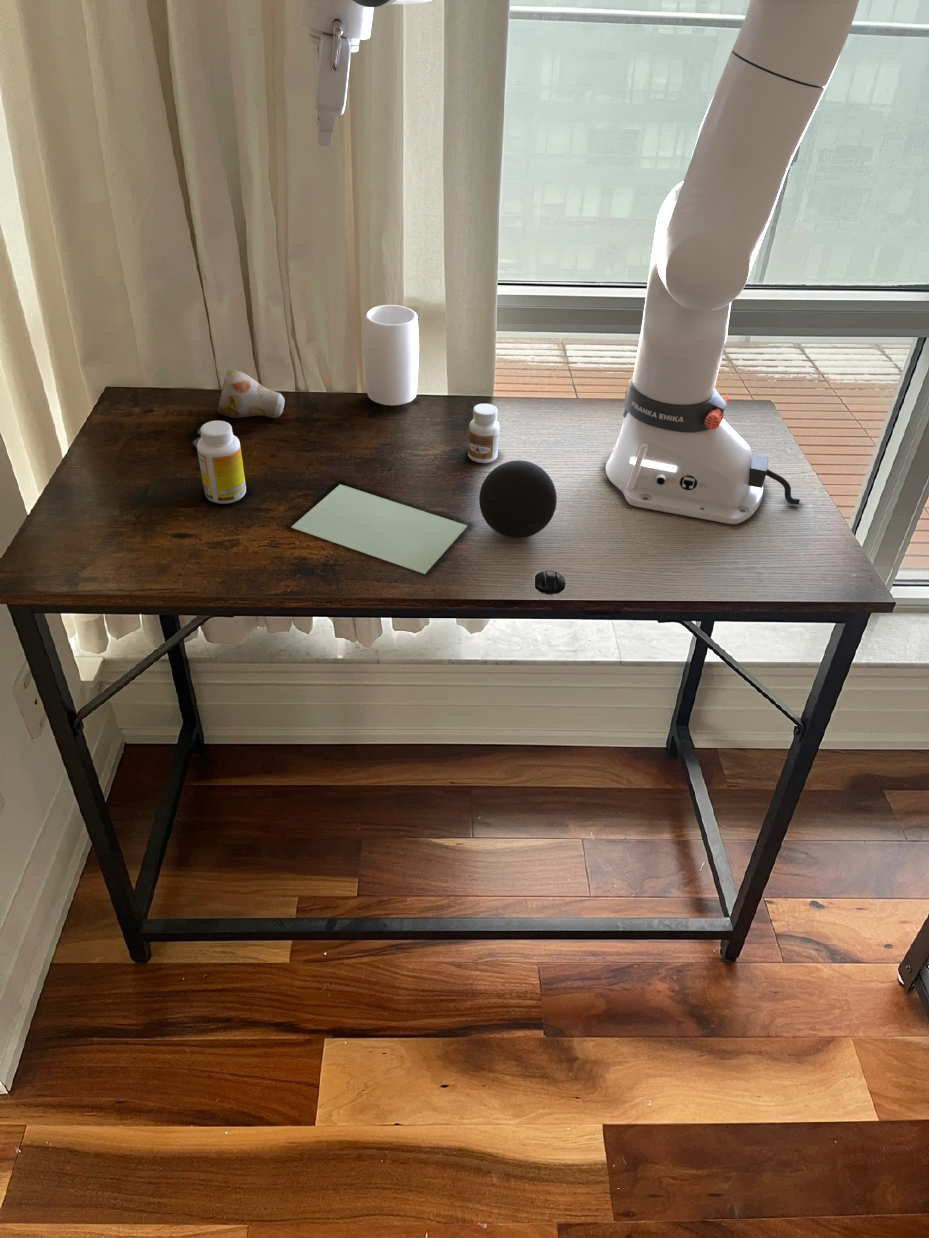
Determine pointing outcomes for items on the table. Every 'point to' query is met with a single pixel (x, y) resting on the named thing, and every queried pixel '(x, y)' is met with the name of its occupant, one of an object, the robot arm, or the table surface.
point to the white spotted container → (248, 398)
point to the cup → (391, 354)
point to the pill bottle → (483, 434)
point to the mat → (381, 528)
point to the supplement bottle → (221, 463)
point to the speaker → (517, 499)
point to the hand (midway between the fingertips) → (323, 136)
